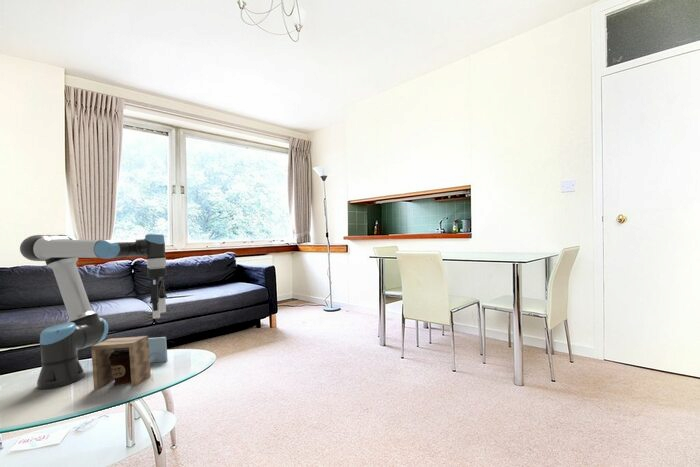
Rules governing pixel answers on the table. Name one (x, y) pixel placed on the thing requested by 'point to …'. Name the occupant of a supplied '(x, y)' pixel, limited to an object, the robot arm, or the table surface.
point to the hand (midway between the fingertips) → (159, 315)
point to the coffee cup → (120, 367)
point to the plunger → (157, 349)
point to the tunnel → (137, 359)
